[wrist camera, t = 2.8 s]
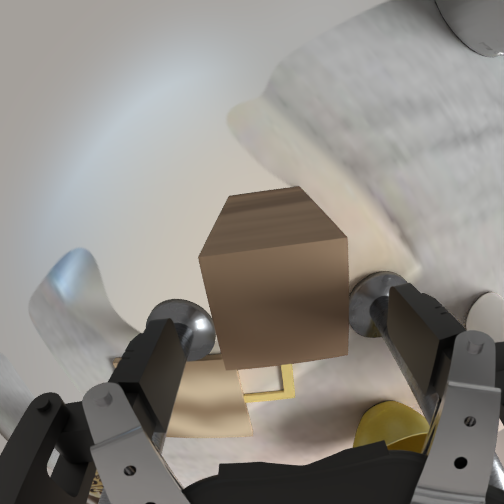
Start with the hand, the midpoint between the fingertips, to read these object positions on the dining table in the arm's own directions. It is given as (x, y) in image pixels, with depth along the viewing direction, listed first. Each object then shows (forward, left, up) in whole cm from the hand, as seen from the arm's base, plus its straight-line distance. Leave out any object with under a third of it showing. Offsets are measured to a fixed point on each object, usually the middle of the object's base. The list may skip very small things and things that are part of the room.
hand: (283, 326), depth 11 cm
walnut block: (0, 0, -12) cm, 12 cm away
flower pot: (+24, +11, -13) cm, 29 cm away
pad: (+17, -10, -12) cm, 23 cm away
